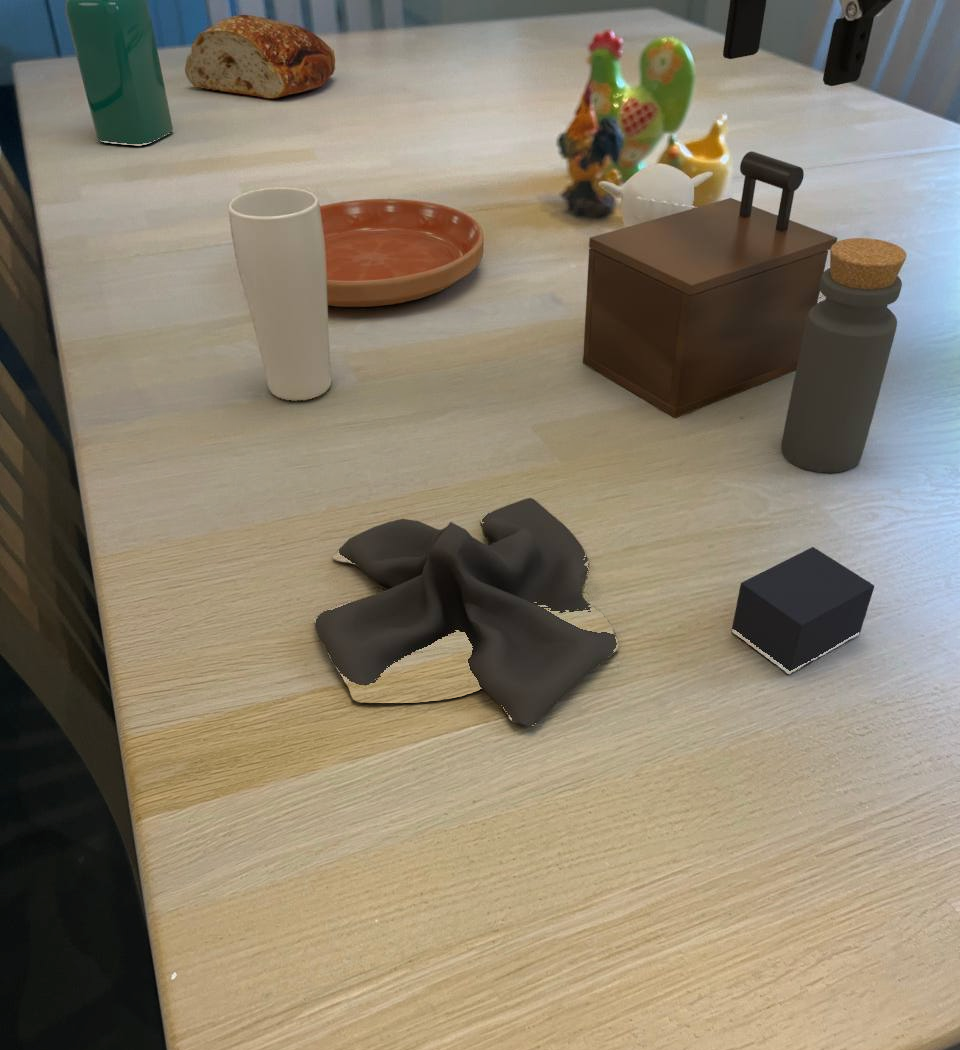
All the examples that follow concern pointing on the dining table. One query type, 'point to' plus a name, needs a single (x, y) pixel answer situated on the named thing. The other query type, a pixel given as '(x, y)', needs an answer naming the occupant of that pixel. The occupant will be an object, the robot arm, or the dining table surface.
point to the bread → (259, 58)
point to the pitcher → (120, 69)
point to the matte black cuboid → (802, 607)
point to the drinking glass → (285, 286)
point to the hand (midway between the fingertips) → (788, 68)
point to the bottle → (843, 356)
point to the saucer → (396, 250)
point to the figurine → (655, 193)
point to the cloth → (473, 605)
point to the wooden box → (696, 331)
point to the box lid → (720, 235)
